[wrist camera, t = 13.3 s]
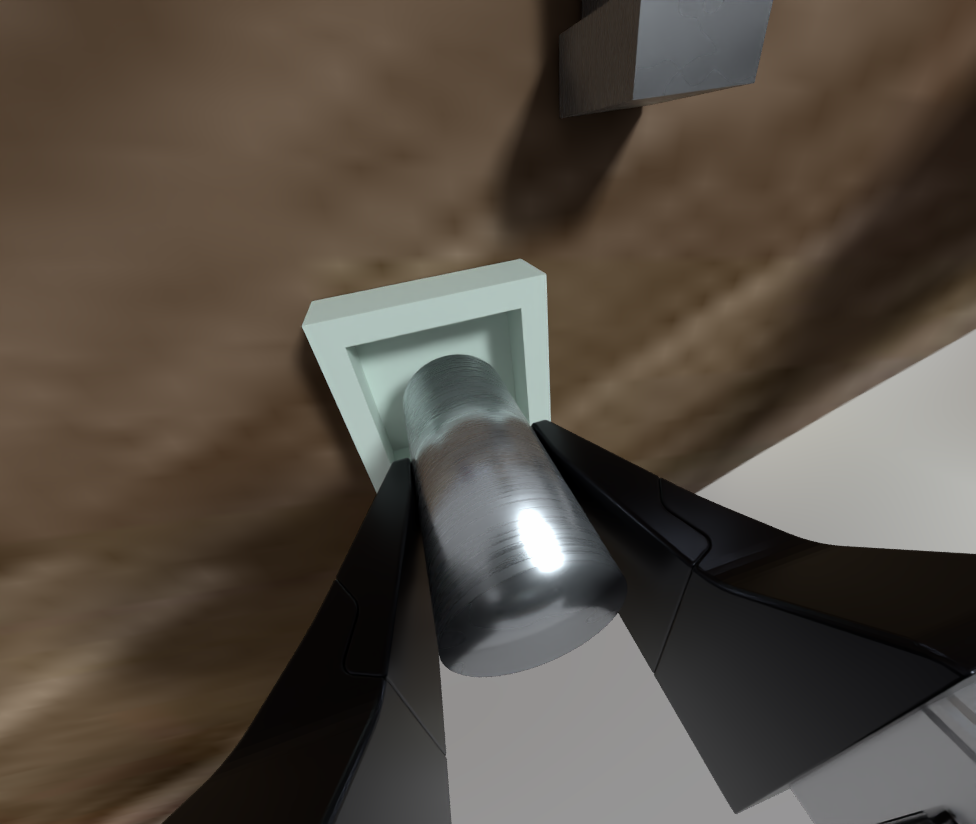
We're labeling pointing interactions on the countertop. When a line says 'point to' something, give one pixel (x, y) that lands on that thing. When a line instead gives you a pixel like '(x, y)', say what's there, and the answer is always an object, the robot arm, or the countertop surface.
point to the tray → (429, 347)
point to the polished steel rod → (499, 528)
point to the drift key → (657, 51)
